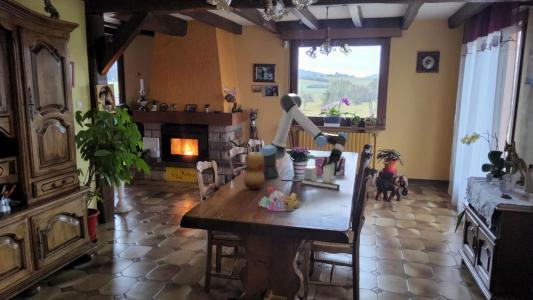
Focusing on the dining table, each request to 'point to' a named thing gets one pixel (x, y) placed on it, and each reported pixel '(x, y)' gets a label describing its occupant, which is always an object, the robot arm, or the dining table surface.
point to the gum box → (320, 161)
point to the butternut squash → (254, 170)
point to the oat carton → (310, 173)
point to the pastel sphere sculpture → (279, 201)
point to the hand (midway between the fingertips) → (327, 178)
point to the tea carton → (328, 173)
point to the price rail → (320, 184)
